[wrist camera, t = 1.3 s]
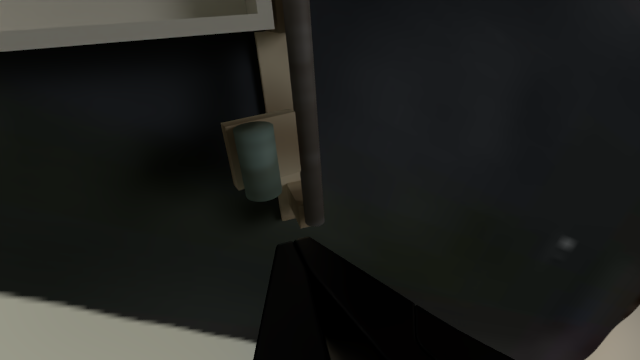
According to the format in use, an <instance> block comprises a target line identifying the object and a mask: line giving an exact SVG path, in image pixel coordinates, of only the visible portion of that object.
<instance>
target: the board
mask: <svg viewBox="0 0 640 360" xmlns="http://www.w3.org/2000/svg"><path fill="white" fill-rule="evenodd" d="M269 29H275V27H274V19H273V10H272V2H271V0H0V52H5V51H17V50H29V49H41V48H53V47H65V46H77V45H89V44H101V43H113V42H125V41H137V40H149V39H161V38H173V37H185V36H197V35H209V34H221V33H233V32H245V31H257V30H269Z"/></svg>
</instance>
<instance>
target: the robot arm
mask: <svg viewBox="0 0 640 360" xmlns="http://www.w3.org/2000/svg"><path fill="white" fill-rule="evenodd" d="M253 360H514V359H512V358H510V357H509V356H507V355H505V354H503V353H501V352H499V351H497V350H495V349H493V348H491V347H489V346H487V345H485V344H483V343H481V342H480V341H478V340H476V339H474V338H472V337H470V336H469V335H467V334H465V333H463V332H461V331H459V330H457V329H456V328H454V327H452V326H451V325H449V324H447V323H446V322H444V321H442V320H441V319H439V318H437V317H436V316H434V315H432V314H431V313H429V312H428V311H426V310H424V309H423V308H421V307H420V306H418V305H416V306H415V304H414V303H413V302H411V301H410V300H408V299H407V298H405V297H404V296H402V295H400V294H399V293H397V292H396V291H394V290H393V289H391V288H389V287H388V286H386V285H385V284H383V283H381V282H380V281H378V280H377V279H375V278H374V277H372V276H370V275H369V274H367V273H366V272H364V271H363V270H361V269H359V268H358V267H356V266H355V265H353V264H351V263H350V262H348V261H347V260H345V259H344V258H342V257H340V256H339V255H337V254H336V253H334V252H333V251H331V250H329V249H328V248H326V247H325V246H323V245H321V244H320V243H318V242H317V241H315V240H314V239H312V238H310V237H304V238H300V239H297V240H295V241H294V243H293V242H292V241H289V242H285V243H281V244H278V245H277V247H276V251H275V256H274V260H273V265H272V270H271V275H270V280H269V285H268V290H267V295H266V300H265V305H264V310H263V314H262V319H261V324H260V329H259V334H258V339H257V344H256V349H255V354H254V359H253Z"/></svg>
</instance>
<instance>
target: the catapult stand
mask: <svg viewBox="0 0 640 360" xmlns="http://www.w3.org/2000/svg"><path fill="white" fill-rule="evenodd" d="M271 2H272V10H273V19H274V27H275V29H269V30H265V31H260V32H254V35H255V42H256V49H257V56H258V63H259V70H260V77H261V83H262V90H263V97H264V104H265V111H266V113H270V112H275V111H280V110H284V109H290V110H292V111H294V110H293V100H292V91H291V81H290V71H289V62H288V52H287V42H286V33H285V23H284V14H283V4H282V0H271ZM281 186H282V193H281V194H280V195H279V196H278V200H279V207H280V213H281V219H282V221H286V220H290V219H294V218H296V220H297V222H298V224H299V226H300V228H305V227H309V226H308V225H307V224H306V223H305V216H304V206H303V197H302V187H301V177H300V172H297V173H294V174H290V175H287V176H284V177H281Z"/></svg>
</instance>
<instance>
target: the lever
mask: <svg viewBox="0 0 640 360" xmlns="http://www.w3.org/2000/svg"><path fill="white" fill-rule="evenodd" d="M282 4H283V14H284V23H285V33H286V42H287V52H288V62H289V71H290V81H291V91H292V100H293V110H294V111H292V110H290V109H284V110H280V111H275V112H270V113H265V114H261V115H256V116H251V117H247V118H242V119H237V120H232V121H228V122H223V123H221V127H222V132H223V136H224V141H225V145H226V150H227V155H228V159H229V164H230V168H231V173H232V178H233V182H234V185H235V187H236V188H237V189H238V190H242V189H245V193H246V197H247V198H248V199H249V200H251V201H255V202H264V201H269V200H272V199H274V198H276V197H278V196H279V195H280V194H281V193H282V186H281V177H284V176H287V175H290V174H294V173H297V172H300V177H301V187H302V197H303V206H304V216H305V223H306V224H307V225H308V226H311V227H317V226H320V225H322V224H323V223H324V221H325V220H324V205H323V191H322V176H321V162H320V147H319V133H318V118H317V103H316V89H315V74H314V60H313V45H312V31H311V16H310V2H309V0H282Z"/></svg>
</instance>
